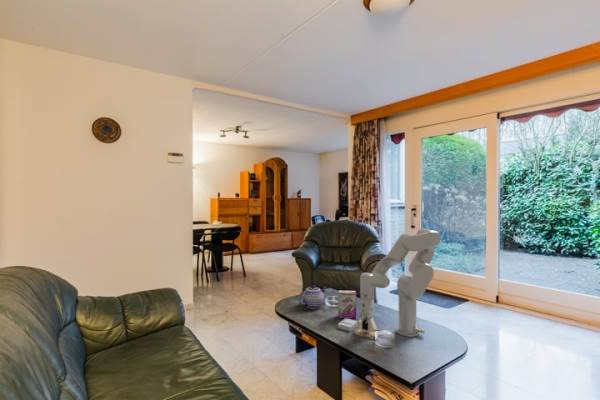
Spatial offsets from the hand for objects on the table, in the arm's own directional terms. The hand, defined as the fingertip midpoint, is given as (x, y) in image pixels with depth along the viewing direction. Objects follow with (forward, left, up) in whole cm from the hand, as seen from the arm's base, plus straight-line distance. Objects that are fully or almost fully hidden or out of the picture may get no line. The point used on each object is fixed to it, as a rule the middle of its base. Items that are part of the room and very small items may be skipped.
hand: (366, 327), depth 167 cm
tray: (0, 0, -3) cm, 3 cm away
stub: (-1, 0, -1) cm, 2 cm away
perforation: (+13, +5, -3) cm, 14 cm away
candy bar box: (+19, -14, -4) cm, 24 cm away
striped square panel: (+13, -2, -3) cm, 13 cm away
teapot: (+47, -18, -4) cm, 50 cm away
